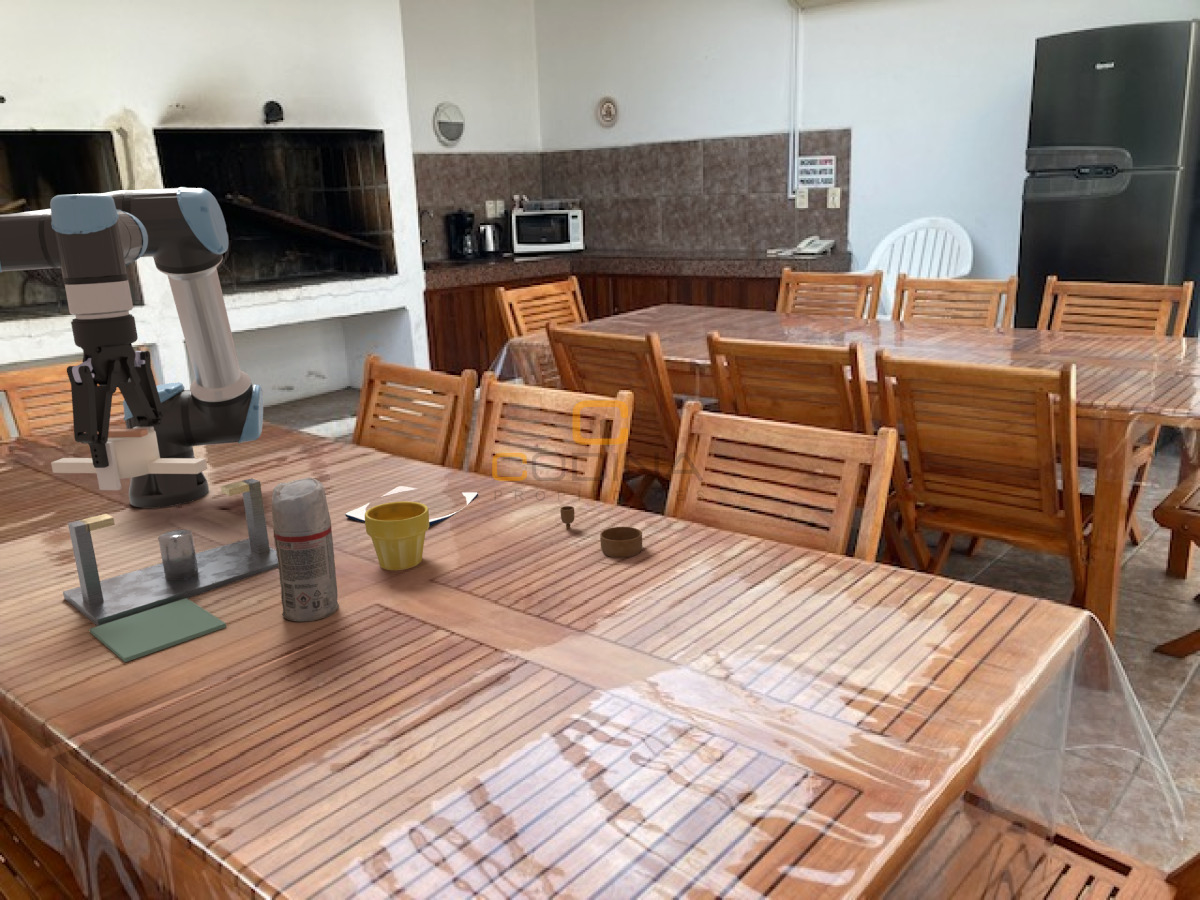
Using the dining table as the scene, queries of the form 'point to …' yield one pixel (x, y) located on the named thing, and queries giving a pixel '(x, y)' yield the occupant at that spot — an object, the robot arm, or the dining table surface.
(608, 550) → the place setting
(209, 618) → the mat
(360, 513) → the plate
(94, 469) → the cream crossbar with hub
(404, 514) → the plant pot
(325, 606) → the spray can
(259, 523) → the grey frame
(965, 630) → the dining table surface
